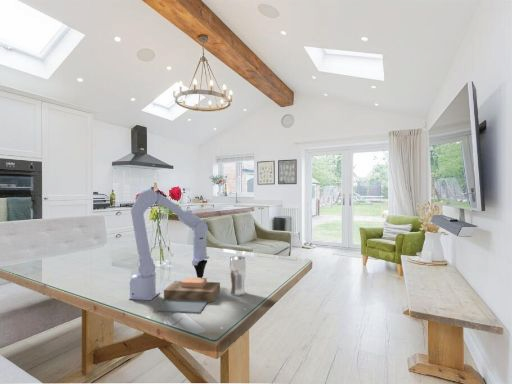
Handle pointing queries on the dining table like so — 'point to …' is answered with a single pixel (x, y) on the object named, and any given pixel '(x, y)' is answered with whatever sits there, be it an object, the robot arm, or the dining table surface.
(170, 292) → the brown wooden block
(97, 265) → the dining table surface
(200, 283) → the tile
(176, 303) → the mat
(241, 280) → the beer glass
